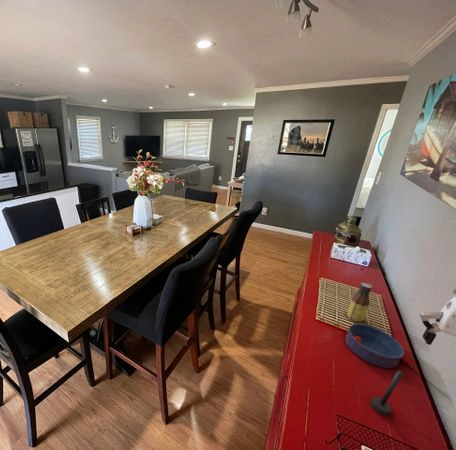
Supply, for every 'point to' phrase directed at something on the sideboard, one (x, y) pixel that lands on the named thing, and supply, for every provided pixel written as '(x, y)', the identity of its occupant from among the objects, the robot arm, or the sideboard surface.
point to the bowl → (374, 346)
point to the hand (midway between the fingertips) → (450, 349)
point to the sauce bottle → (359, 303)
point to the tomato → (358, 339)
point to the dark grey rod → (385, 397)
